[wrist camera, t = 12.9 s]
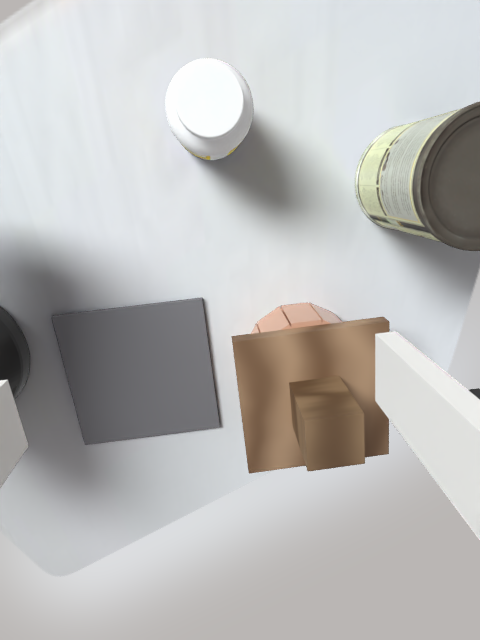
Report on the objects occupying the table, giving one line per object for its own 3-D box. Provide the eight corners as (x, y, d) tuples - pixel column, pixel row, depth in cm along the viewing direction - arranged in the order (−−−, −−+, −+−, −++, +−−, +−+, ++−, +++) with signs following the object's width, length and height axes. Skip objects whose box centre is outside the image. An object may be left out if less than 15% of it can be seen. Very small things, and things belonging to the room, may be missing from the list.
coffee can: (444, 109, 42) (556, 77, 28) (457, 212, 45) (562, 227, 32) (343, 141, 42) (407, 124, 28) (363, 241, 45) (428, 268, 32)
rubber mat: (86, 441, 50) (85, 444, 50) (53, 315, 45) (51, 317, 45) (219, 424, 51) (219, 427, 50) (202, 297, 46) (202, 299, 45)
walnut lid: (247, 464, 46) (256, 525, 38) (231, 336, 41) (237, 374, 33) (383, 445, 46) (419, 501, 38) (383, 316, 42) (425, 350, 34)
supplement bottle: (238, 79, 39) (252, 34, 27) (249, 154, 42) (266, 144, 29) (167, 91, 39) (149, 52, 27) (182, 165, 41) (171, 160, 29)
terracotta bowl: (251, 405, 50) (256, 434, 45) (240, 310, 47) (245, 328, 41) (349, 393, 51) (367, 420, 45) (347, 297, 47) (366, 314, 41)
